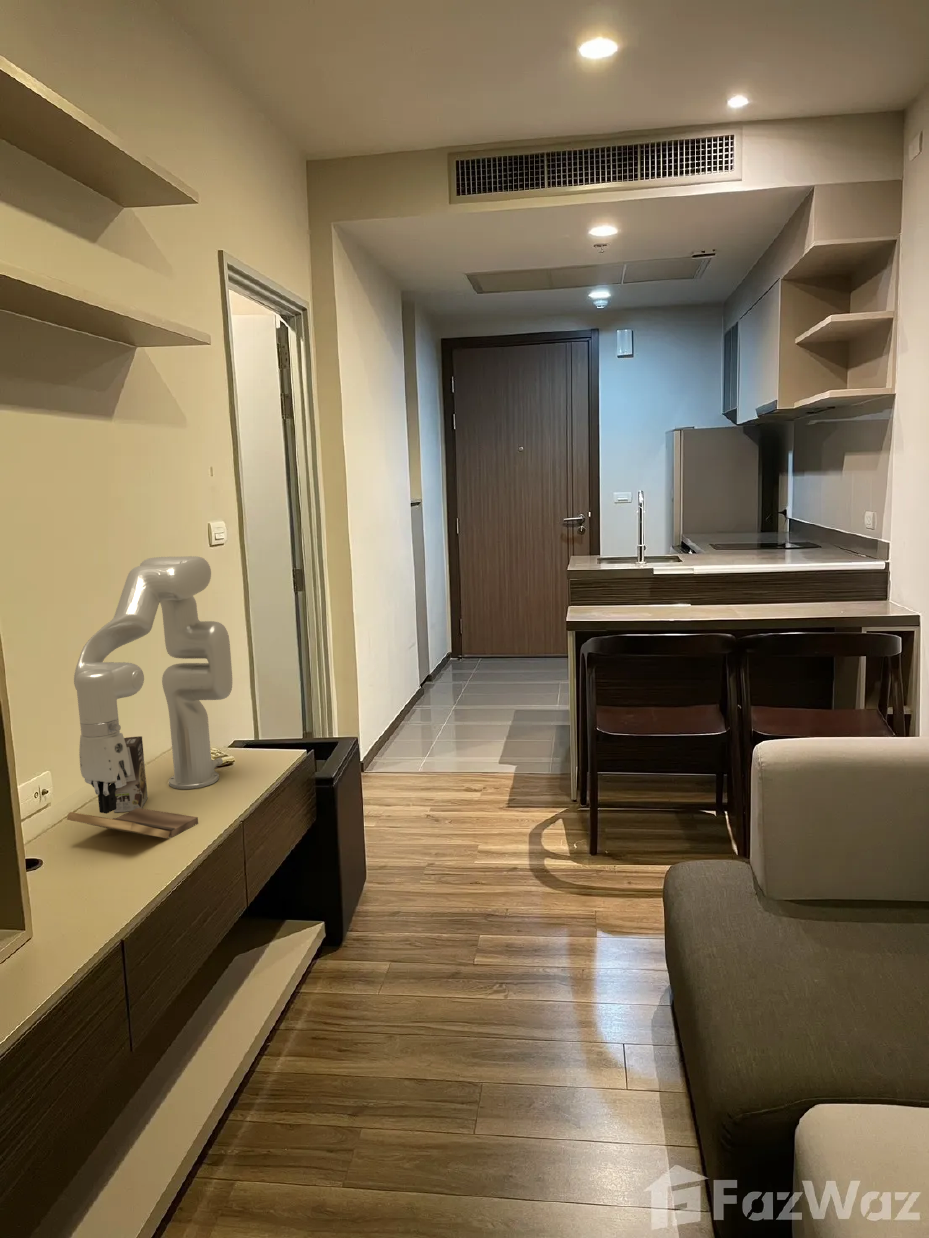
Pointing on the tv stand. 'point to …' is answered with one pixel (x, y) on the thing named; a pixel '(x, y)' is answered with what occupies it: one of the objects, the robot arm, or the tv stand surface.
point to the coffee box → (133, 778)
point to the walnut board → (160, 820)
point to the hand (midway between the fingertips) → (108, 810)
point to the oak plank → (117, 825)
